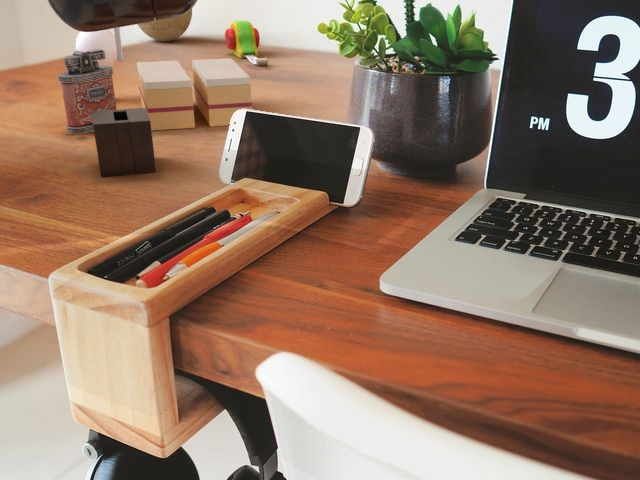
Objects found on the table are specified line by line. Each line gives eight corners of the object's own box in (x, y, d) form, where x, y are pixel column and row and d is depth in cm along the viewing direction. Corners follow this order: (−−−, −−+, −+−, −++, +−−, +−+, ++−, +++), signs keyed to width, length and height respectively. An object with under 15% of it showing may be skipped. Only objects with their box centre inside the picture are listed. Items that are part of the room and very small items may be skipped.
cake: (149, 131, 97) (144, 82, 94) (141, 106, 109) (136, 62, 106) (253, 123, 102) (250, 77, 99) (234, 100, 113) (231, 58, 110)
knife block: (101, 177, 81) (93, 124, 78) (99, 161, 86) (91, 110, 83) (156, 172, 83) (150, 120, 80) (151, 156, 88) (145, 107, 85)
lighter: (79, 135, 94) (66, 57, 90) (61, 131, 96) (48, 54, 91) (125, 122, 101) (115, 48, 96) (108, 118, 102) (97, 45, 98)
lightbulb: (77, 98, 112) (65, 24, 107) (115, 93, 116) (105, 21, 111) (93, 106, 108) (82, 30, 103) (132, 101, 112) (123, 26, 107)
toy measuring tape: (250, 48, 154) (248, 16, 151) (278, 65, 139) (277, 30, 136) (220, 50, 152) (218, 17, 149) (246, 67, 136) (244, 31, 133)
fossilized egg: (123, 42, 157) (113, -33, 151) (160, 34, 168) (153, -36, 161) (171, 47, 153) (163, -29, 146) (206, 39, 163) (200, -33, 157)
